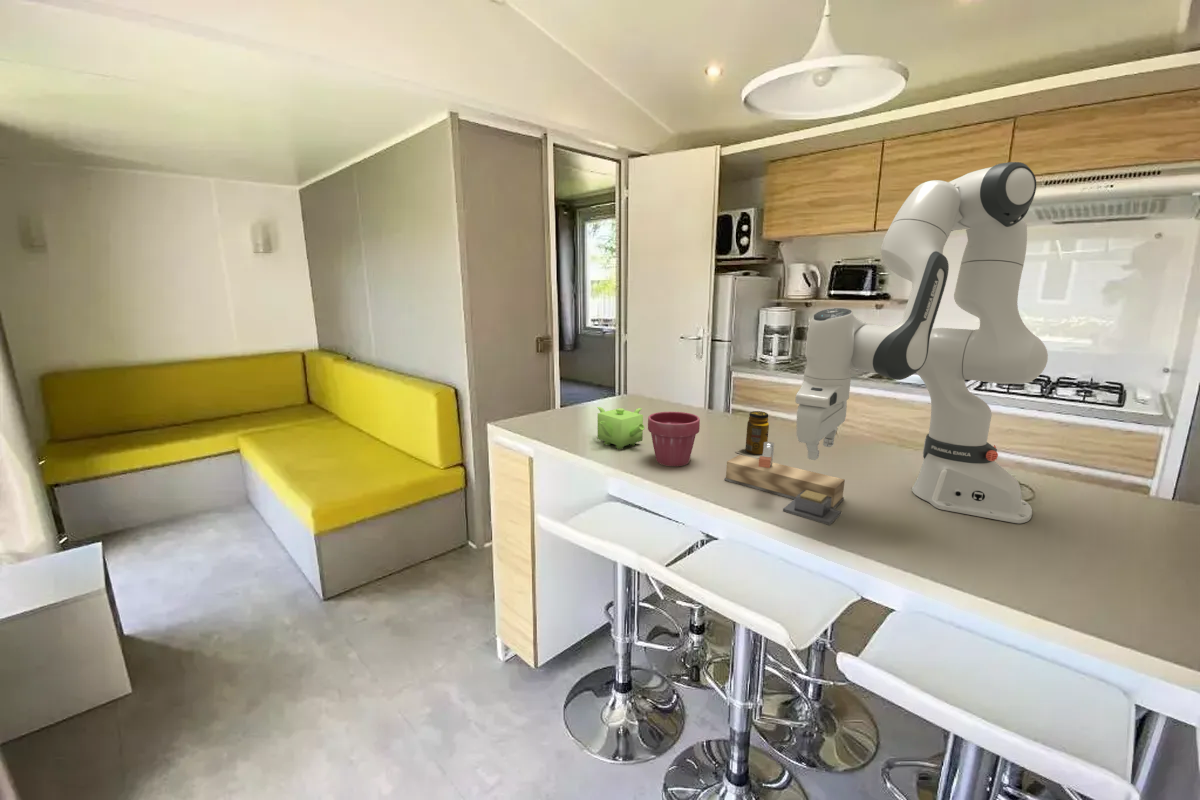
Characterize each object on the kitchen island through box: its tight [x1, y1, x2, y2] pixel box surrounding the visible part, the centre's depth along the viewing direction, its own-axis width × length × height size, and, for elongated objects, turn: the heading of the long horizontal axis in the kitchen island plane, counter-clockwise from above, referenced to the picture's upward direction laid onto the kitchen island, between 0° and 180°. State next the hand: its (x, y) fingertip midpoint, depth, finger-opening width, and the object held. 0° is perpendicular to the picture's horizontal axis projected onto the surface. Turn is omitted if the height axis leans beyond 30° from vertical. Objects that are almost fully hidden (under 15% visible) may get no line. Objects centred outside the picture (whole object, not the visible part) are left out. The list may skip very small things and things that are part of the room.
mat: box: [782, 499, 842, 526], centre depth 113 cm, size 10×7×1 cm
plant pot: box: [647, 411, 701, 467], centre depth 143 cm, size 14×14×13 cm
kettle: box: [597, 406, 645, 450], centre depth 159 cm, size 15×14×11 cm
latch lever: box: [758, 441, 775, 468], centre depth 121 cm, size 14×2×6 cm, turn 158°
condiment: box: [735, 410, 770, 459], centre depth 151 cm, size 7×8×12 cm
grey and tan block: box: [794, 490, 832, 518], centre depth 113 cm, size 6×5×4 cm
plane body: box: [724, 454, 845, 510], centre depth 125 cm, size 26×7×5 cm, turn 49°
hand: (820, 452), depth 110 cm, fingers open, 8 cm apart
